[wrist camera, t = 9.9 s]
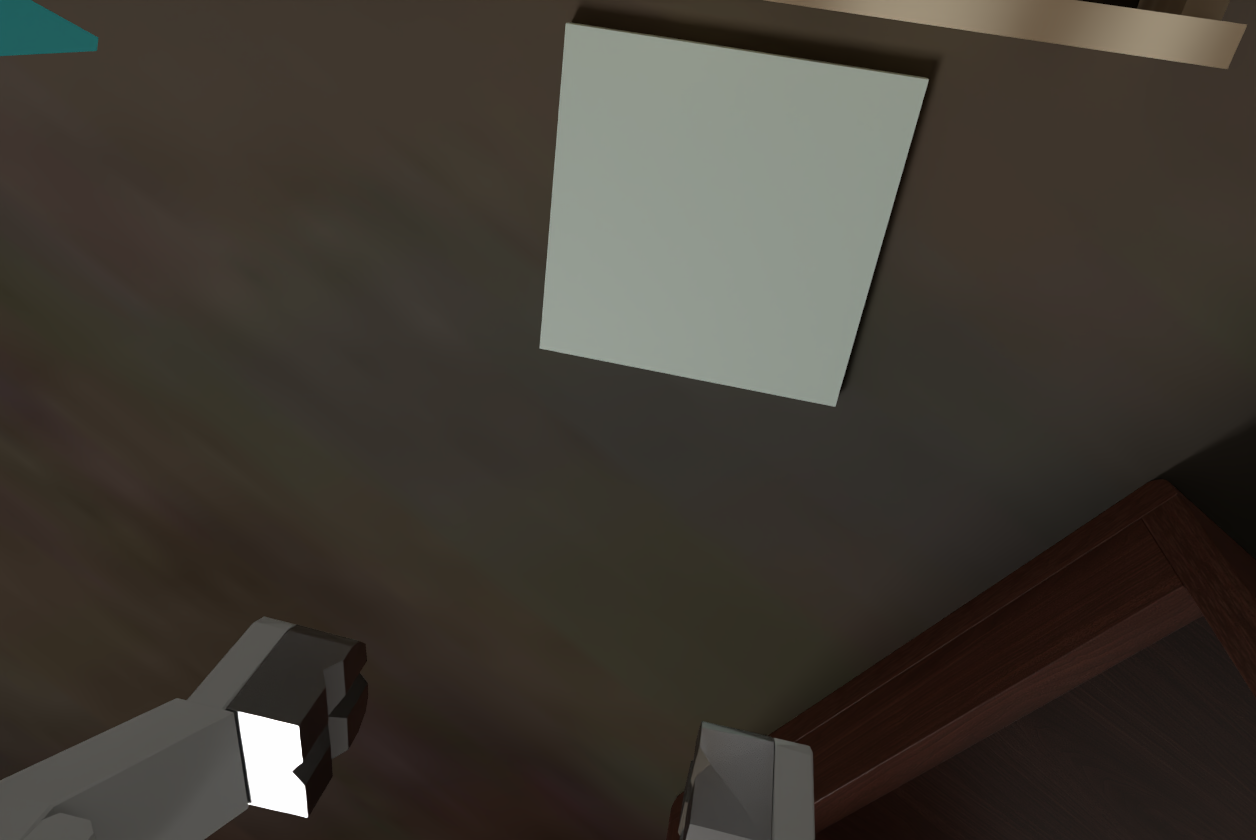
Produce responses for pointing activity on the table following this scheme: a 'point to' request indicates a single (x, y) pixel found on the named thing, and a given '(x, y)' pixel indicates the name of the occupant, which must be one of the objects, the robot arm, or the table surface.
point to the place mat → (39, 31)
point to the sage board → (719, 208)
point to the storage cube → (1060, 699)
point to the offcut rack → (1076, 23)
